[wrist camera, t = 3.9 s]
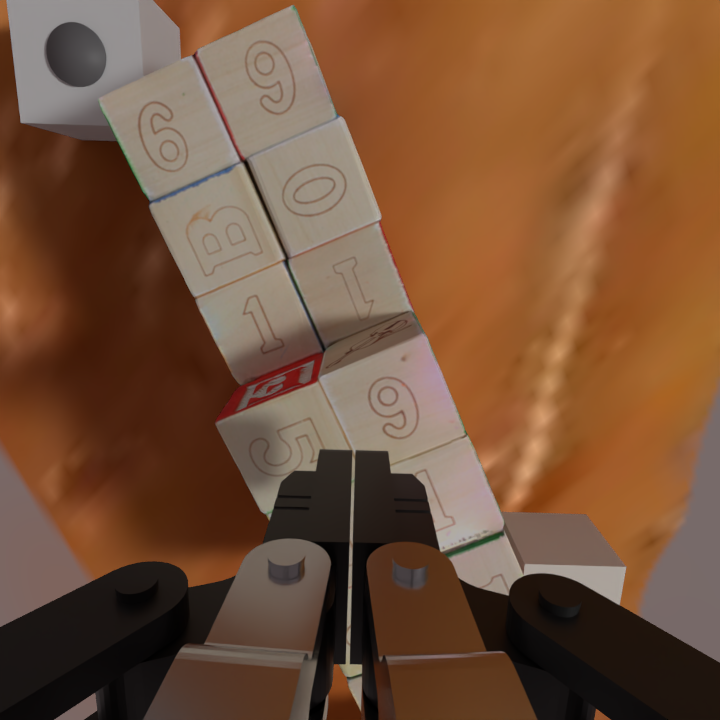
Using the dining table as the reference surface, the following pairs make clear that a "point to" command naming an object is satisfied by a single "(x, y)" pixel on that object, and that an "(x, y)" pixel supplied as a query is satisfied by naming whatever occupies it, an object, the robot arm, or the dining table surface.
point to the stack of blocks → (300, 284)
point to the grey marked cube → (84, 58)
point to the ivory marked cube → (565, 550)
